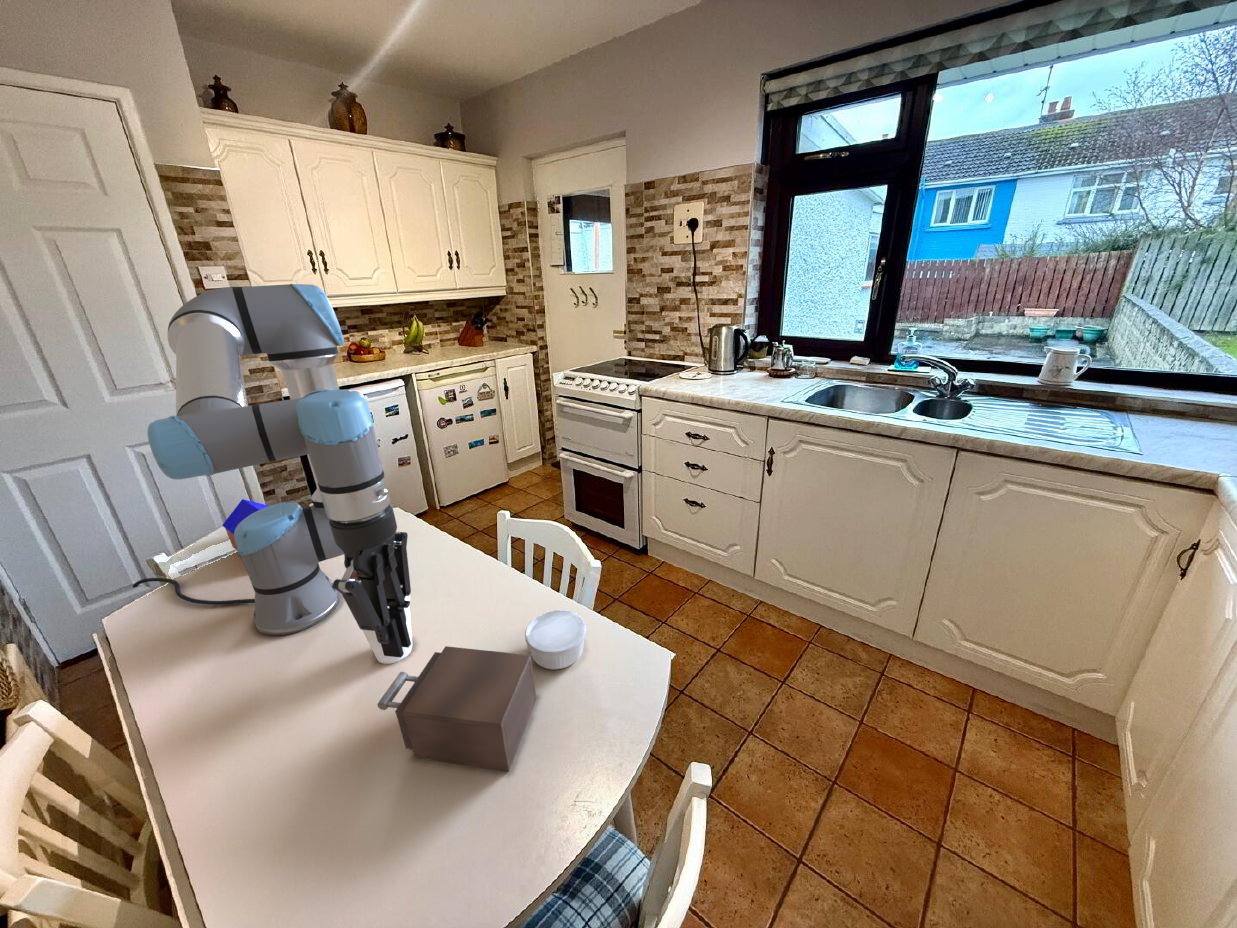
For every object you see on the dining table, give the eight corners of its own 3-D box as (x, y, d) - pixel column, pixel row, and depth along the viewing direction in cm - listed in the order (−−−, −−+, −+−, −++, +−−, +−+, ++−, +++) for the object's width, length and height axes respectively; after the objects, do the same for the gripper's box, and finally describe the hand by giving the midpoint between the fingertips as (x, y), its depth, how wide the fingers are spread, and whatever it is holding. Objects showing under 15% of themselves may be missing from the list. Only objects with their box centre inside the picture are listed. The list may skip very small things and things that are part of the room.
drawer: (373, 744, 73) (361, 706, 70) (414, 683, 83) (405, 648, 80) (491, 760, 70) (484, 722, 67) (518, 695, 80) (513, 660, 77)
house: (280, 527, 136) (268, 490, 131) (314, 549, 125) (301, 509, 120) (230, 547, 127) (215, 508, 122) (262, 572, 116) (246, 530, 112)
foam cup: (401, 673, 86) (385, 616, 81) (355, 666, 88) (337, 609, 83) (430, 636, 95) (417, 581, 90) (388, 630, 97) (373, 576, 92)
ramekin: (545, 625, 97) (542, 603, 95) (596, 637, 93) (595, 615, 91) (516, 666, 87) (512, 643, 85) (572, 681, 84) (570, 658, 82)
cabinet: (415, 758, 72) (402, 711, 68) (454, 688, 83) (445, 645, 79) (508, 771, 69) (500, 724, 66) (536, 698, 81) (530, 654, 77)
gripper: (350, 542, 56) (393, 691, 65) (416, 488, 69) (444, 619, 78) (293, 538, 57) (343, 685, 66) (369, 485, 70) (401, 615, 79)
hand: (397, 649), depth 72 cm, fingers closed
